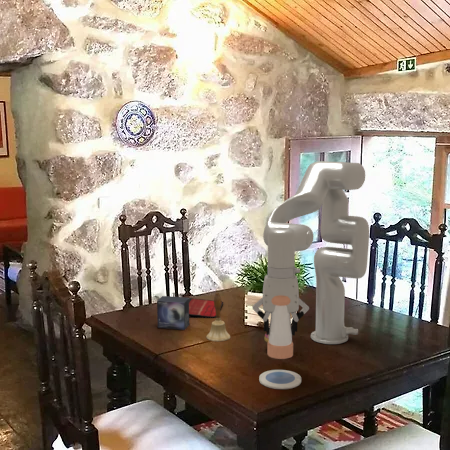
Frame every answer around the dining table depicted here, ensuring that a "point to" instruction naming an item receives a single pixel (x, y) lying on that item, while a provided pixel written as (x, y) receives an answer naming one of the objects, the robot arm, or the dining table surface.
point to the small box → (173, 312)
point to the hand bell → (218, 323)
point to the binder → (202, 308)
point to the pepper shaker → (280, 330)
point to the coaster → (280, 379)
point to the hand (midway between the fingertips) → (280, 333)
